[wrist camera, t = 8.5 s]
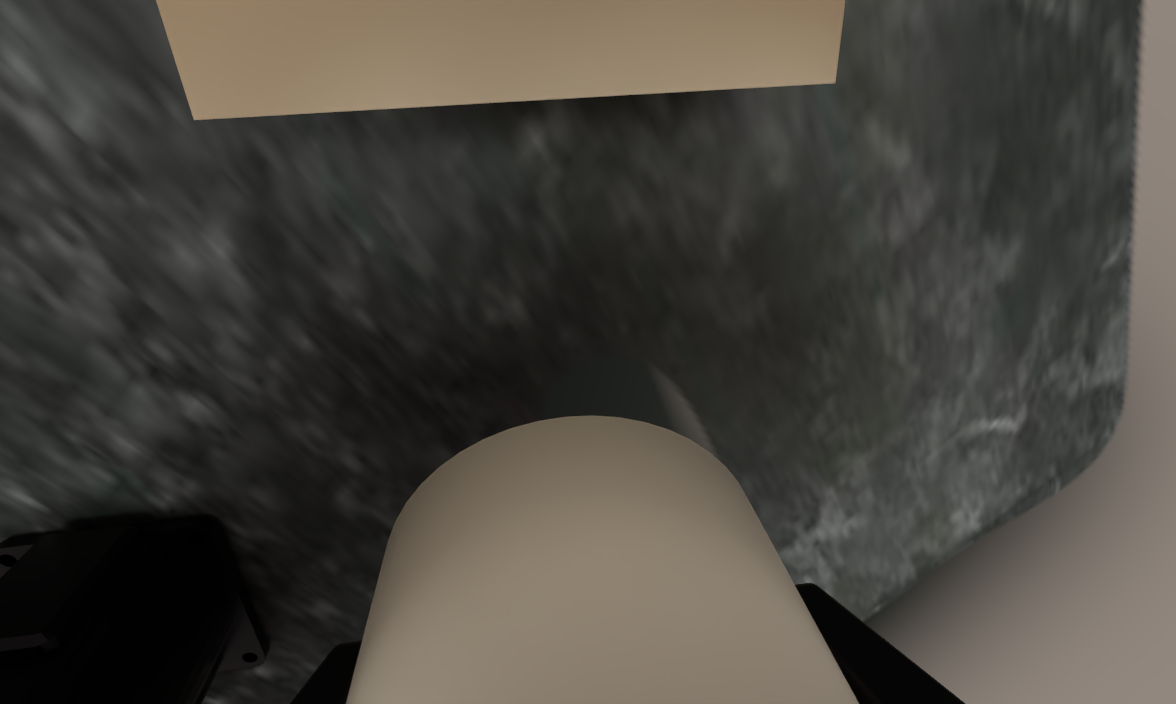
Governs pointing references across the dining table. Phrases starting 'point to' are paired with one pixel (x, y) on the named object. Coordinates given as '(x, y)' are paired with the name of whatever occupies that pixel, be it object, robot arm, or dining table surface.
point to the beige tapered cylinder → (588, 581)
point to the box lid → (486, 50)
